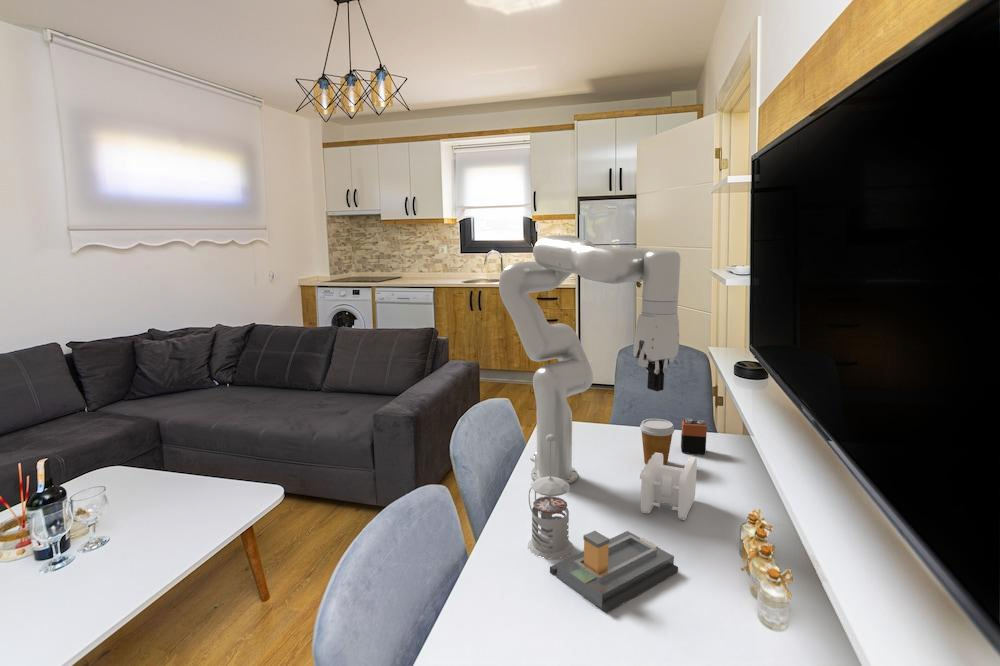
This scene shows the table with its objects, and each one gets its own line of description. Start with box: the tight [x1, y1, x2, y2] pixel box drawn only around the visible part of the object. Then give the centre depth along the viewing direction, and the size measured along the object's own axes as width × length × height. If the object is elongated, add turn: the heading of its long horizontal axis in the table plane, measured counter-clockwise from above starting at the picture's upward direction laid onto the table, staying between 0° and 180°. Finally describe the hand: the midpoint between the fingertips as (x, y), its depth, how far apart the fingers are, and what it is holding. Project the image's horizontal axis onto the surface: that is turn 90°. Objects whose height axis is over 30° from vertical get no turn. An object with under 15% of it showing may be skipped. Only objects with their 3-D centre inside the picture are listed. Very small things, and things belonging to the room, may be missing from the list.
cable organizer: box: [639, 452, 698, 521], centre depth 137 cm, size 15×11×12 cm
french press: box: [527, 434, 574, 560], centre depth 121 cm, size 10×12×25 cm
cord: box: [549, 563, 557, 576], centre depth 118 cm, size 1×20×1 cm, turn 126°
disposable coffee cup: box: [639, 418, 676, 466], centre depth 163 cm, size 10×10×12 cm
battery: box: [680, 417, 708, 455], centre depth 172 cm, size 4×7×10 cm, turn 77°
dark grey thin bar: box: [601, 564, 679, 614], centre depth 107 cm, size 1×20×1 cm, turn 126°
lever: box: [583, 530, 610, 574], centre depth 108 cm, size 4×3×6 cm
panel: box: [556, 530, 675, 611], centre depth 112 cm, size 12×20×4 cm, turn 126°
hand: (655, 389), depth 127 cm, fingers closed
